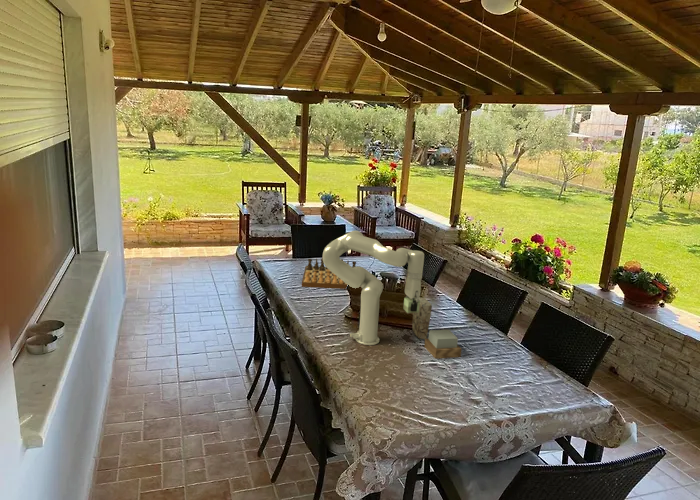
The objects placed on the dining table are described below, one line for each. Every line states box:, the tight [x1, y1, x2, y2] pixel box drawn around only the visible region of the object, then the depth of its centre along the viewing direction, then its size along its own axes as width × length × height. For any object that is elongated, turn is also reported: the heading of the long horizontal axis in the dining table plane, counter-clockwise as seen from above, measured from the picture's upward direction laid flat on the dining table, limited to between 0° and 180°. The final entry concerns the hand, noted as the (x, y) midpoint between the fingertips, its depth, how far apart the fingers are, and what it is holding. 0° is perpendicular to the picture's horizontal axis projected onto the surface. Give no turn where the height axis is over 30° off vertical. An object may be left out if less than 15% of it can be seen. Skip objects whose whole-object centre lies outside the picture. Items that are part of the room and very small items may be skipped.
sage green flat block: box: [428, 329, 459, 348], centre depth 267 cm, size 11×11×5 cm
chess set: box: [301, 257, 357, 290], centre depth 373 cm, size 40×40×15 cm
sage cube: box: [402, 297, 420, 314], centre depth 266 cm, size 6×6×6 cm
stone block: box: [411, 296, 433, 340], centre depth 286 cm, size 13×7×20 cm, turn 18°
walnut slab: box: [424, 338, 462, 360], centre depth 268 cm, size 14×14×5 cm
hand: (411, 308), depth 267 cm, fingers closed on sage cube, 6 cm apart
